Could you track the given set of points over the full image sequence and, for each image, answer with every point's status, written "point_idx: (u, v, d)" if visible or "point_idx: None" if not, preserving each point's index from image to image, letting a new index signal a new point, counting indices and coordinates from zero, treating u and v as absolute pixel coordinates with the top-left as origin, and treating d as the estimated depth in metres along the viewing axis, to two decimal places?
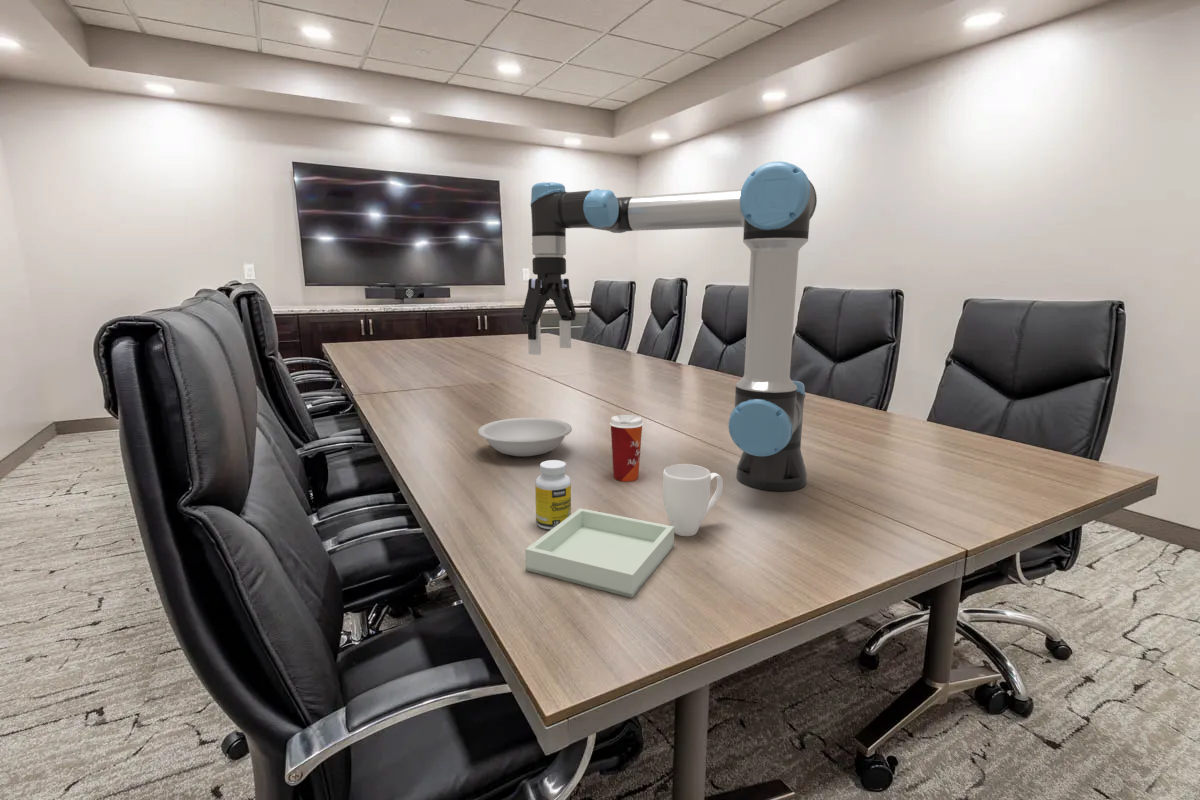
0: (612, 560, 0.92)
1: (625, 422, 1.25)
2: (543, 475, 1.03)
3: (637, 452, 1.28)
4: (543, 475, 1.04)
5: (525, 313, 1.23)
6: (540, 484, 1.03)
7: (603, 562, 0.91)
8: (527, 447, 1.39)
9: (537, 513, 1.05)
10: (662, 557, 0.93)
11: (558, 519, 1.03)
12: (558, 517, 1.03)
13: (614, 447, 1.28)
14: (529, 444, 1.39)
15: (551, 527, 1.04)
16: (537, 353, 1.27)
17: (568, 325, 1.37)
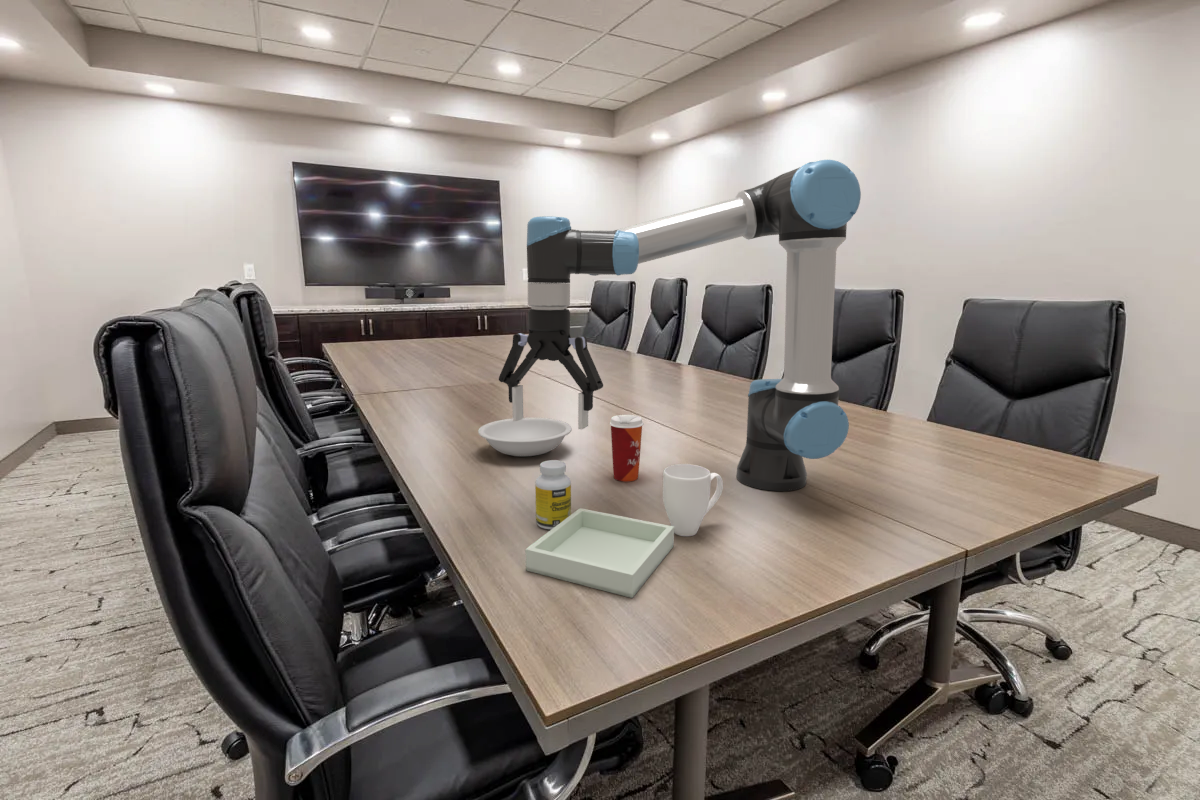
0: (612, 560, 0.92)
1: (625, 422, 1.25)
2: (543, 475, 1.03)
3: (637, 452, 1.28)
4: (543, 475, 1.04)
5: None
6: (540, 484, 1.03)
7: (603, 562, 0.91)
8: (527, 448, 1.39)
9: (537, 513, 1.05)
10: (662, 557, 0.93)
11: (558, 519, 1.03)
12: (558, 517, 1.03)
13: (614, 447, 1.28)
14: (529, 444, 1.39)
15: (551, 527, 1.04)
16: None
17: None
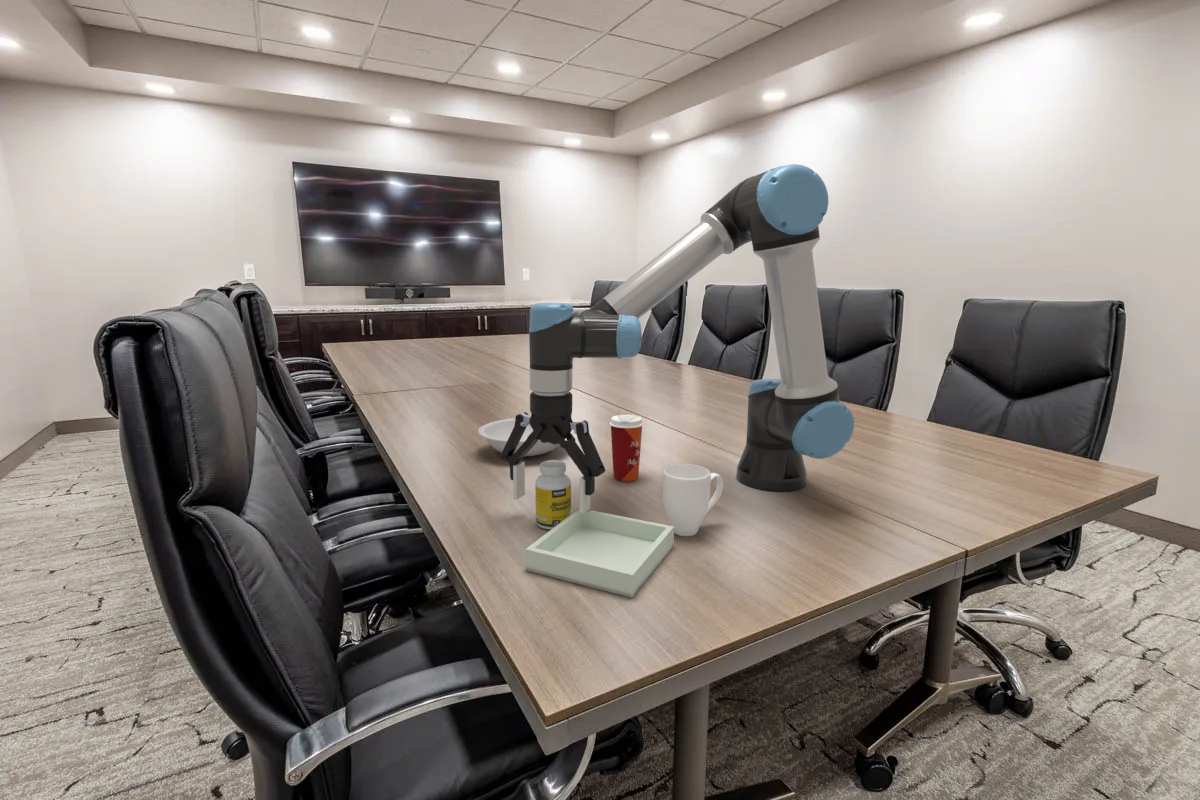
0: (612, 560, 0.92)
1: (625, 422, 1.25)
2: (543, 475, 1.03)
3: (637, 452, 1.28)
4: (543, 475, 1.04)
5: None
6: (540, 484, 1.03)
7: (603, 562, 0.91)
8: None
9: (537, 513, 1.05)
10: (662, 557, 0.93)
11: (558, 519, 1.03)
12: (558, 517, 1.03)
13: (614, 447, 1.28)
14: None
15: (551, 527, 1.04)
16: None
17: None
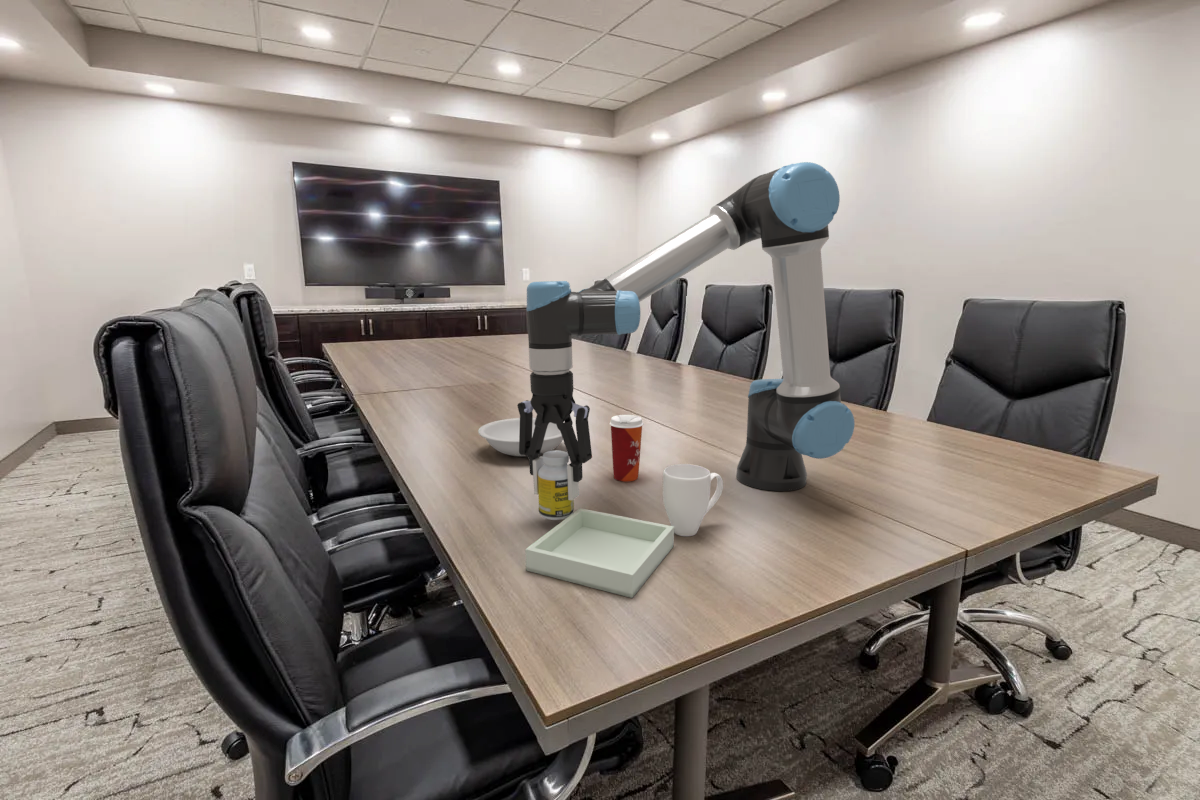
0: (612, 560, 0.92)
1: (625, 422, 1.25)
2: (546, 465, 1.03)
3: (637, 452, 1.28)
4: (546, 465, 1.03)
5: None
6: (543, 474, 1.02)
7: (603, 562, 0.91)
8: None
9: (540, 503, 1.04)
10: (662, 557, 0.93)
11: (560, 510, 1.03)
12: (561, 507, 1.03)
13: (614, 447, 1.28)
14: None
15: (554, 517, 1.03)
16: None
17: None
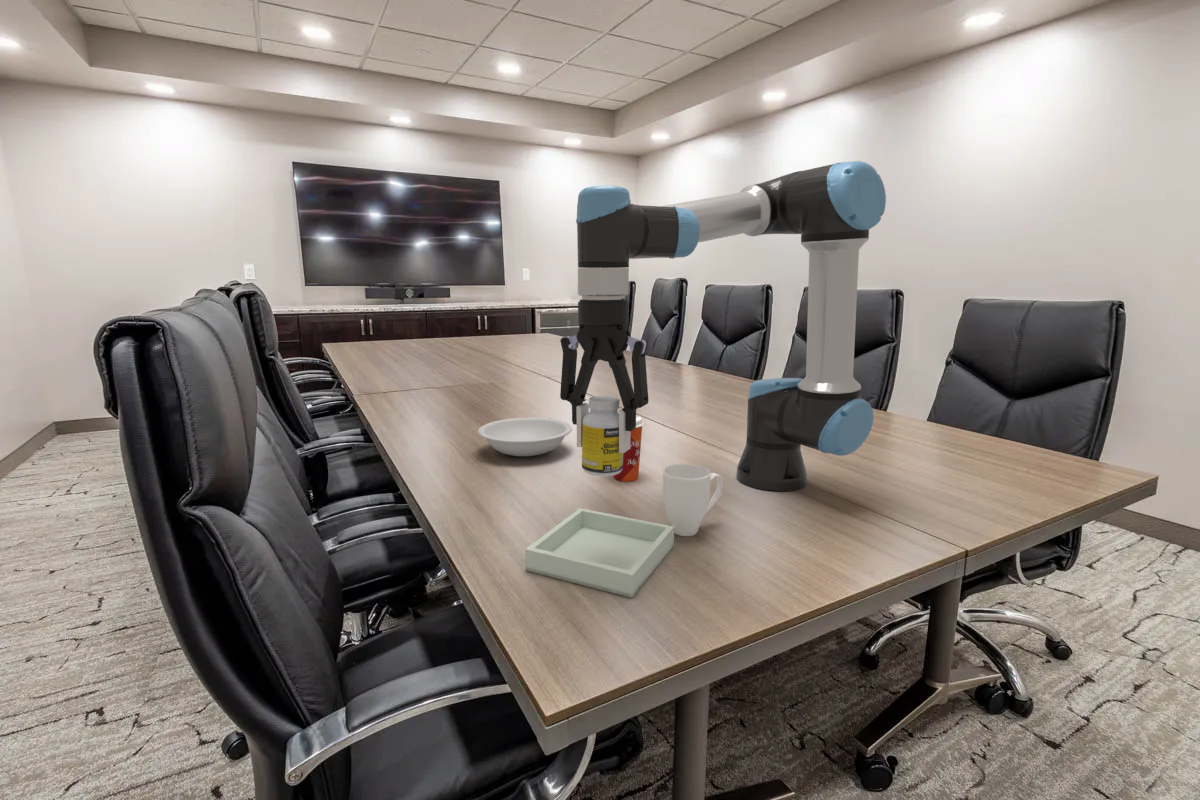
0: (612, 560, 0.92)
1: None
2: (593, 411, 0.87)
3: (637, 452, 1.28)
4: (593, 412, 0.87)
5: None
6: (589, 421, 0.87)
7: (603, 562, 0.91)
8: (527, 447, 1.39)
9: (584, 457, 0.89)
10: (662, 557, 0.93)
11: (609, 464, 0.87)
12: (610, 461, 0.87)
13: None
14: (529, 444, 1.39)
15: (601, 473, 0.87)
16: None
17: None
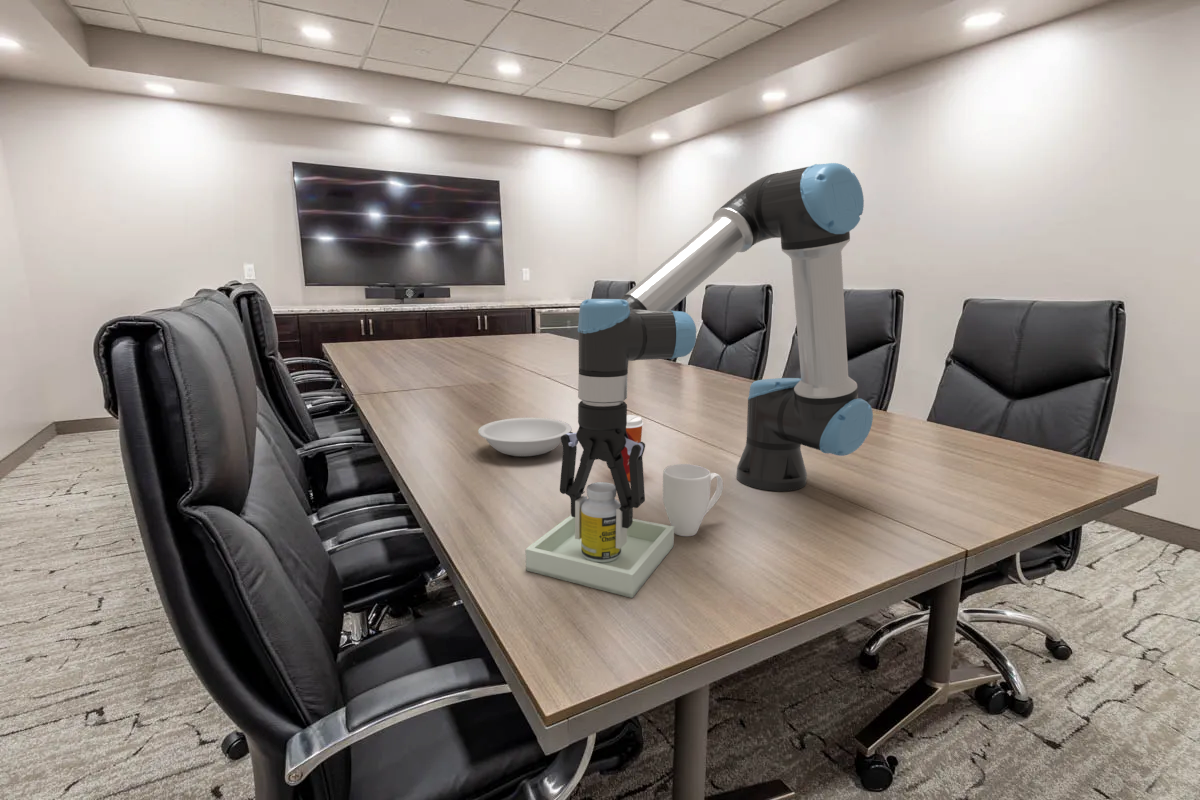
0: None
1: None
2: (591, 500, 0.90)
3: None
4: (591, 500, 0.90)
5: None
6: (588, 511, 0.90)
7: (603, 562, 0.91)
8: (527, 447, 1.39)
9: (583, 543, 0.91)
10: (662, 557, 0.93)
11: (608, 551, 0.90)
12: (608, 548, 0.90)
13: None
14: (529, 444, 1.39)
15: (600, 560, 0.90)
16: None
17: None
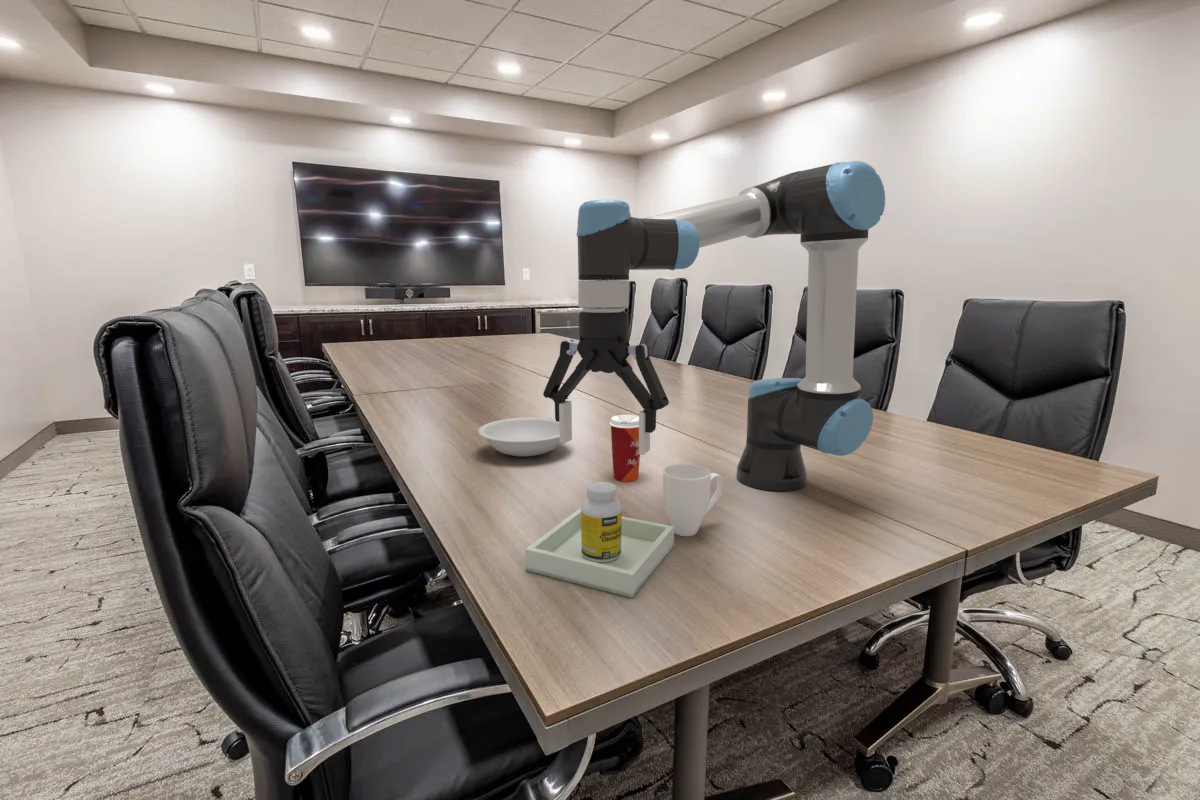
0: None
1: (625, 422, 1.25)
2: (591, 500, 0.90)
3: (637, 452, 1.28)
4: (591, 500, 0.90)
5: None
6: (588, 511, 0.90)
7: (603, 562, 0.91)
8: (527, 448, 1.39)
9: (583, 543, 0.91)
10: (662, 557, 0.93)
11: (608, 551, 0.90)
12: (609, 548, 0.90)
13: (614, 447, 1.28)
14: (529, 444, 1.39)
15: (600, 560, 0.90)
16: None
17: None
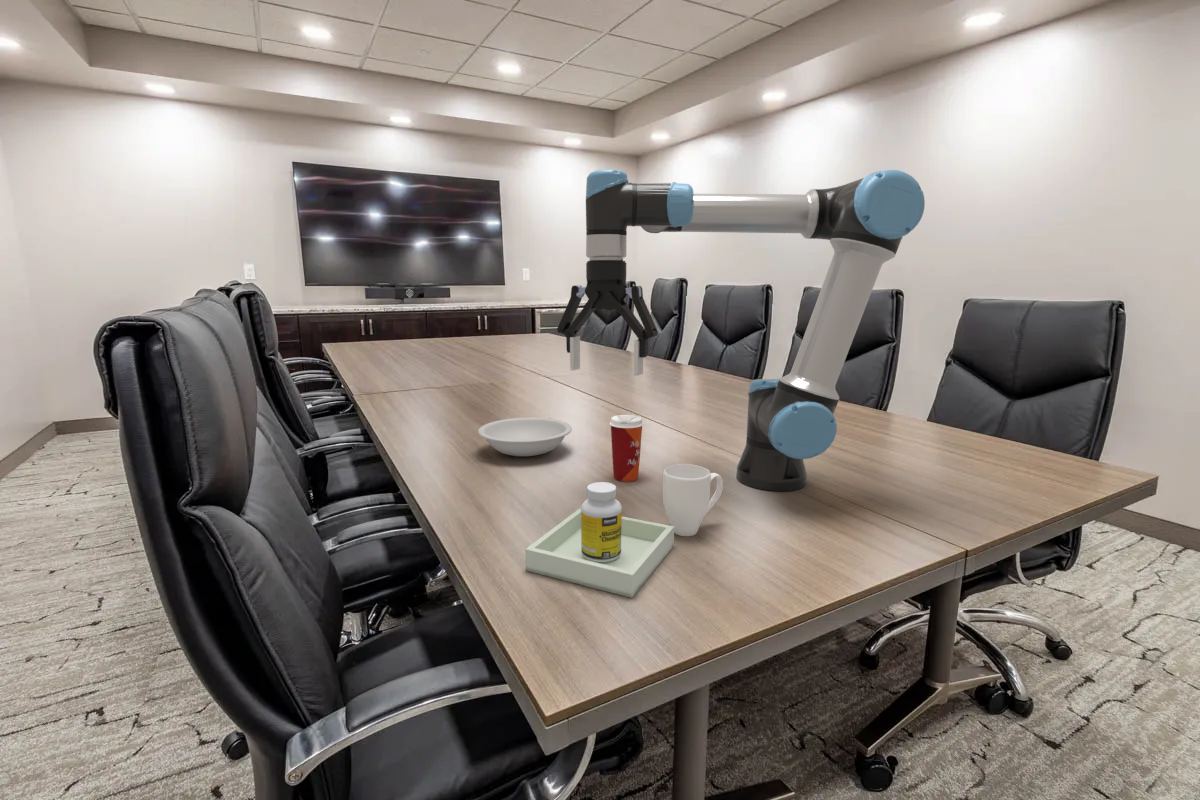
0: None
1: (625, 422, 1.25)
2: (591, 500, 0.90)
3: (637, 452, 1.28)
4: (591, 500, 0.90)
5: None
6: (588, 511, 0.90)
7: (603, 562, 0.91)
8: (527, 447, 1.39)
9: (583, 543, 0.91)
10: (662, 557, 0.93)
11: (608, 551, 0.90)
12: (609, 548, 0.90)
13: (614, 447, 1.28)
14: (529, 444, 1.39)
15: (600, 560, 0.90)
16: None
17: (634, 346, 1.07)
